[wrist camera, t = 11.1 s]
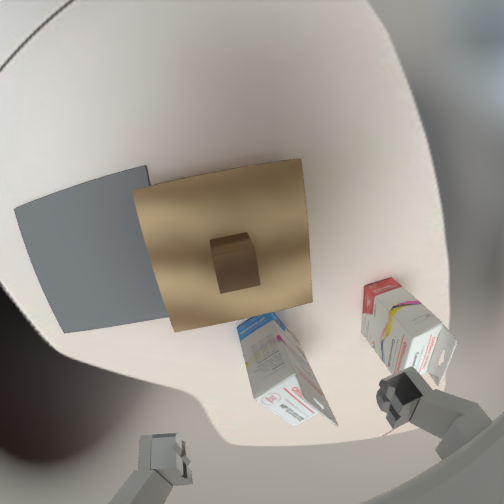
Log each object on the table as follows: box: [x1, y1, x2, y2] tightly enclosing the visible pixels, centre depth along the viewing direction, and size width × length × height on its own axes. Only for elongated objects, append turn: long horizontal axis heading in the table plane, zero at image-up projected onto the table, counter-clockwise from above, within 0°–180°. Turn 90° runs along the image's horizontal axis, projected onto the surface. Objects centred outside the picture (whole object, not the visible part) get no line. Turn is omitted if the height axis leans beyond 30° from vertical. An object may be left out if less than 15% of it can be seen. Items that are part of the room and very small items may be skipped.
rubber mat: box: [14, 165, 169, 333], centre depth 28 cm, size 17×17×1 cm
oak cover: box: [132, 159, 313, 332], centre depth 24 cm, size 14×14×4 cm
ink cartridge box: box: [361, 278, 457, 386], centre depth 32 cm, size 9×5×15 cm, turn 10°
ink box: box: [237, 312, 338, 427], centre depth 30 cm, size 8×5×15 cm, turn 35°
